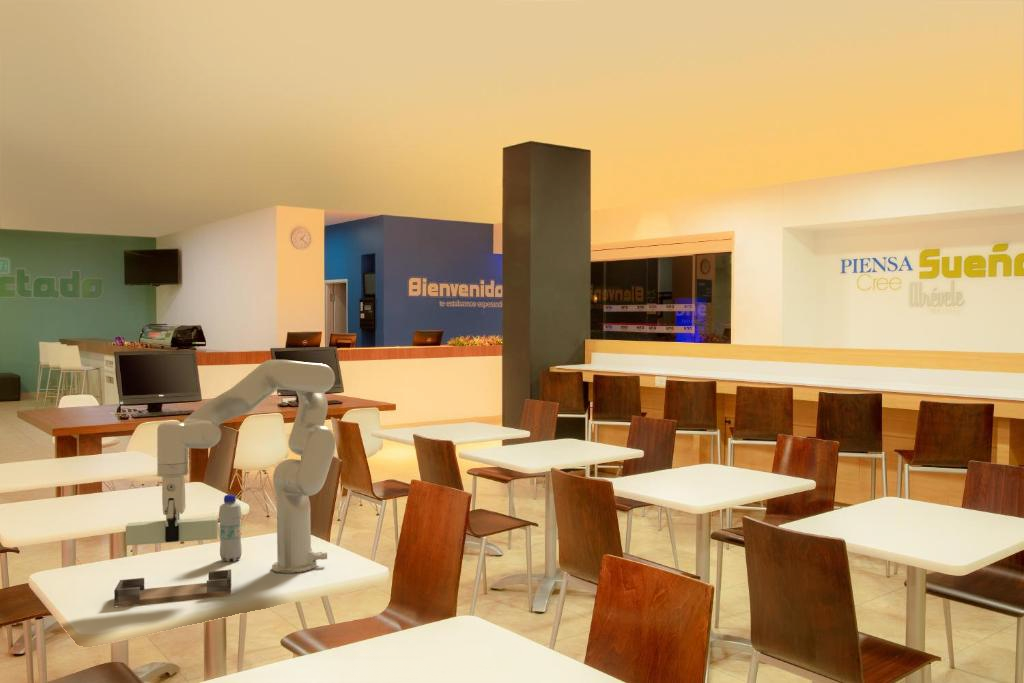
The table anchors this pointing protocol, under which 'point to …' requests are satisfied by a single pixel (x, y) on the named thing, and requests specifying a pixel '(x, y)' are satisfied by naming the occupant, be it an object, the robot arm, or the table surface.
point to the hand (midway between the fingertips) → (173, 538)
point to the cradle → (172, 590)
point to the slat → (156, 531)
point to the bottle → (230, 529)
